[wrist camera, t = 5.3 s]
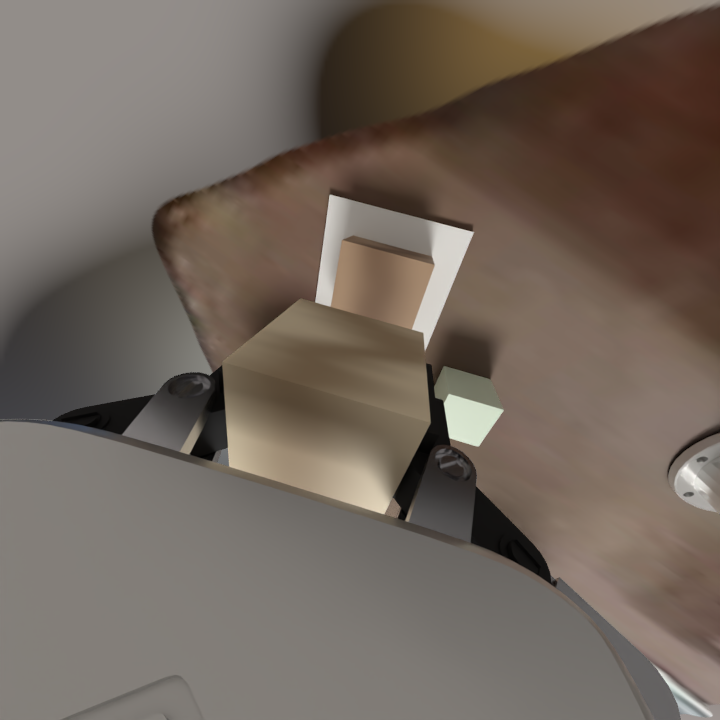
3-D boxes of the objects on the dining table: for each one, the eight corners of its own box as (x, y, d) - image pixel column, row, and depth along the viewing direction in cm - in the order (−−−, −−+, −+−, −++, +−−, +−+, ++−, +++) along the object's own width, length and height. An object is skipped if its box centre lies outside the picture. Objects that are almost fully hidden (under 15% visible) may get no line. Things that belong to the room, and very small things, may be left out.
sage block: (490, 378, 28) (503, 409, 23) (469, 413, 30) (478, 446, 26) (443, 365, 28) (448, 393, 24) (427, 400, 30) (429, 432, 26)
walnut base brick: (431, 256, 22) (434, 265, 19) (406, 329, 26) (405, 347, 23) (353, 235, 23) (341, 240, 19) (338, 310, 26) (327, 325, 23)
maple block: (423, 332, 10) (430, 422, 6) (388, 422, 13) (375, 530, 9) (300, 298, 10) (221, 361, 6) (290, 394, 13) (230, 485, 9)
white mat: (472, 231, 21) (473, 232, 21) (422, 355, 28) (422, 357, 27) (331, 194, 22) (329, 194, 21) (313, 324, 28) (312, 325, 28)
